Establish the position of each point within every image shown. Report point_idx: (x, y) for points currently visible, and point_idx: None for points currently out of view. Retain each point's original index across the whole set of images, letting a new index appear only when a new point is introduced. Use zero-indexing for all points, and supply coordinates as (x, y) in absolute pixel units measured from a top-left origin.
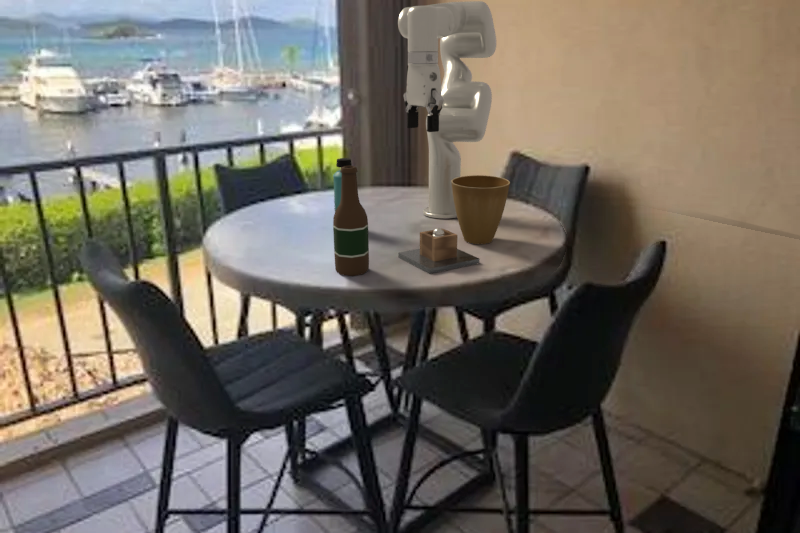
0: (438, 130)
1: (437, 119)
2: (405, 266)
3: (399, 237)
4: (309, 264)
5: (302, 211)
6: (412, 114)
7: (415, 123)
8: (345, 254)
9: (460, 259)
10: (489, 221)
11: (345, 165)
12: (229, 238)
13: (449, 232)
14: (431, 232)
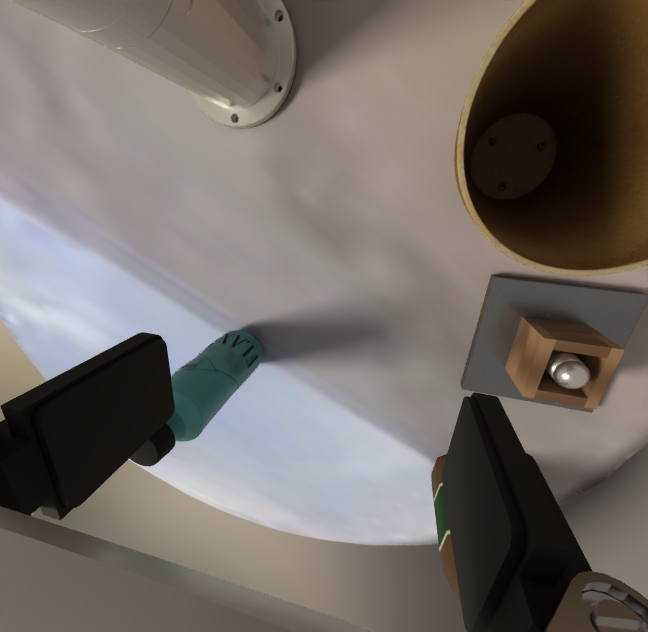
0: (497, 400)
1: (570, 539)
2: (513, 406)
3: (353, 301)
4: (384, 488)
5: (96, 333)
6: (77, 466)
7: (144, 376)
8: None
9: (610, 332)
10: (619, 170)
11: (170, 447)
12: (206, 485)
13: (590, 350)
14: (541, 374)
